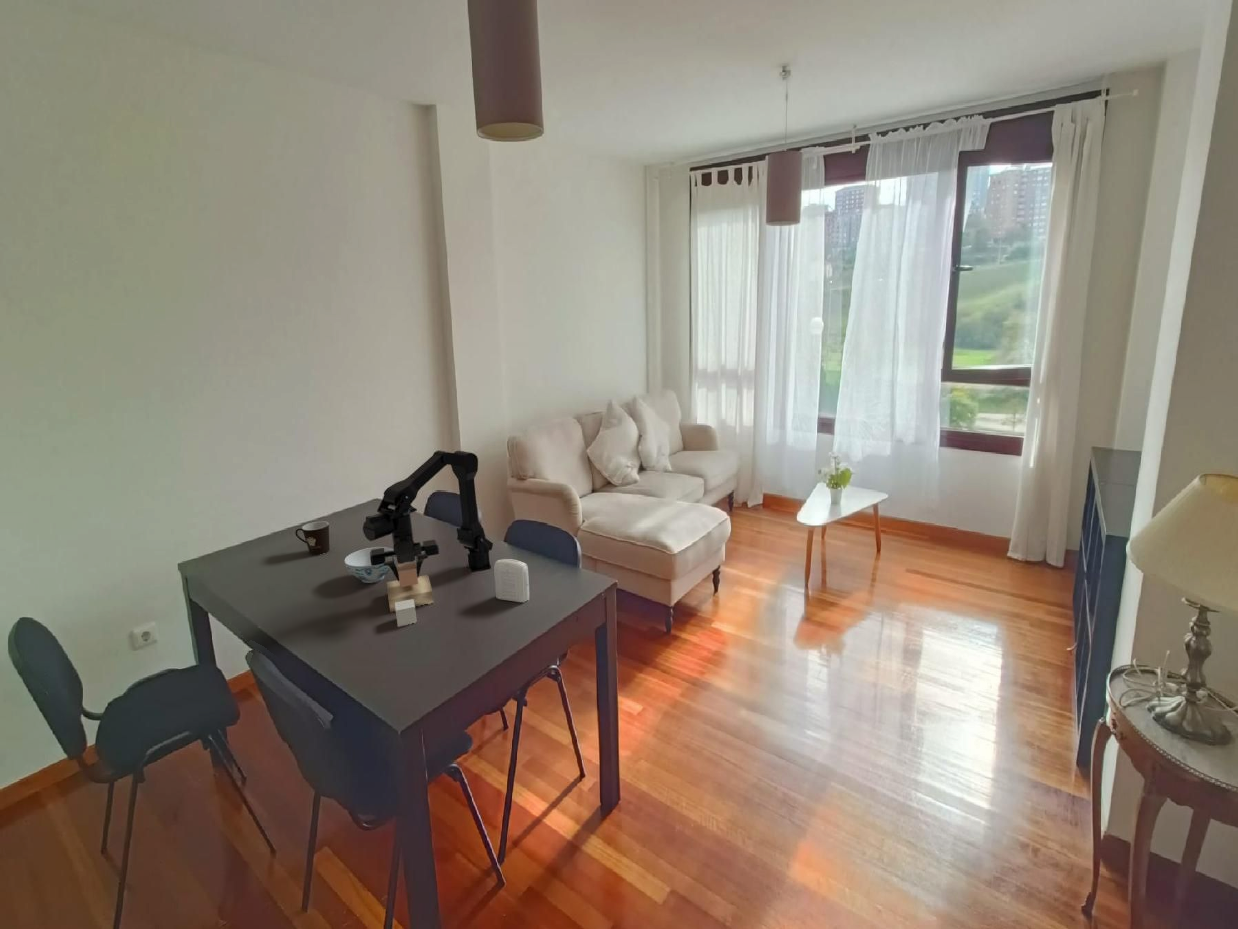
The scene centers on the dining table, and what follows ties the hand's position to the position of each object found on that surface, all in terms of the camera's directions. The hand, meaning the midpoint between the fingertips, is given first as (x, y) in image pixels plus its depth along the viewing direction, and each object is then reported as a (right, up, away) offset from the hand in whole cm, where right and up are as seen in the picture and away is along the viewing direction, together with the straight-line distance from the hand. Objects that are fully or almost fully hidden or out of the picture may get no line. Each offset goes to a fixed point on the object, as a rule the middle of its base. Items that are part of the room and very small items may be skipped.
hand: (408, 578), depth 181 cm
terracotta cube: (0, -1, 0) cm, 1 cm away
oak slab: (0, -6, +2) cm, 6 cm away
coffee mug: (-46, +3, +39) cm, 60 cm away
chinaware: (-17, -3, +16) cm, 23 cm away
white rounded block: (+31, -6, 0) cm, 32 cm away
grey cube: (+3, -10, -11) cm, 15 cm away
